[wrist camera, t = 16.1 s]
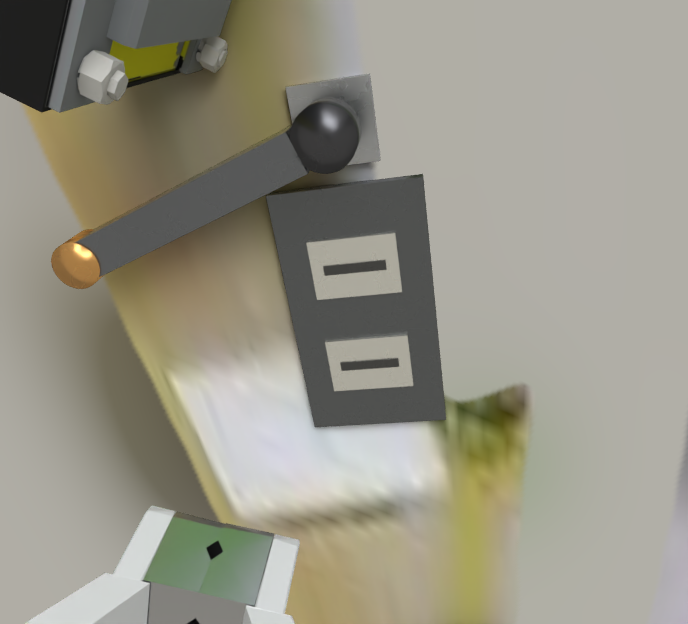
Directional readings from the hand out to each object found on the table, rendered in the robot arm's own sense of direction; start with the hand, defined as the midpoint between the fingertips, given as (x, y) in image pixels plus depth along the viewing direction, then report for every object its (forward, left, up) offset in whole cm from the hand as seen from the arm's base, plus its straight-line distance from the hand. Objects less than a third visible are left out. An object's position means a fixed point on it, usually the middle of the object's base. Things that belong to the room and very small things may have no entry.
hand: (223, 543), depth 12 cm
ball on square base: (+2, -2, -37) cm, 37 cm away
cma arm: (+12, +1, -34) cm, 36 cm away
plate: (+2, +13, -37) cm, 40 cm away
